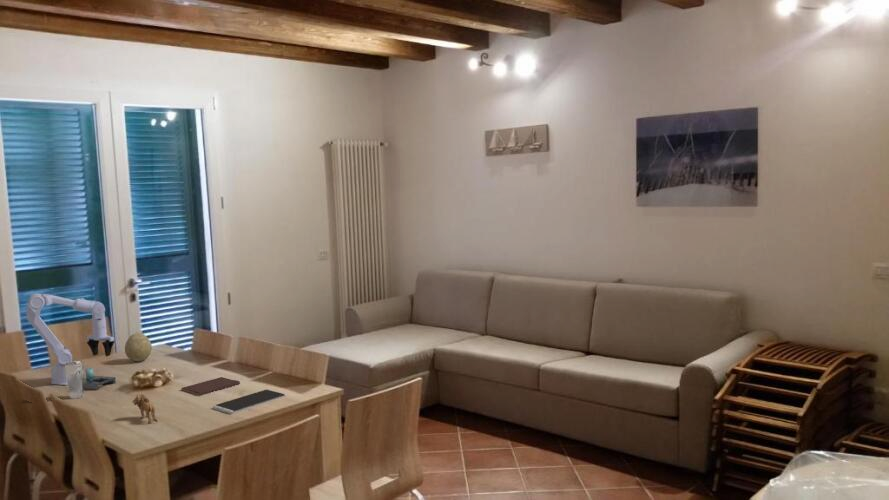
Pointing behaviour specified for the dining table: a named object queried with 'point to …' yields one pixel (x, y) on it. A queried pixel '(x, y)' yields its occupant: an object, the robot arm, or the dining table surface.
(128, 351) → the fossilized egg
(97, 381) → the keyhole plate
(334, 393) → the dining table surface
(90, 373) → the peg
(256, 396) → the smartphone
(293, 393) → the dining table surface
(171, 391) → the dining table surface
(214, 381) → the notebook
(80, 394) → the beer glass
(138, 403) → the lion figurine
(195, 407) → the dining table surface
